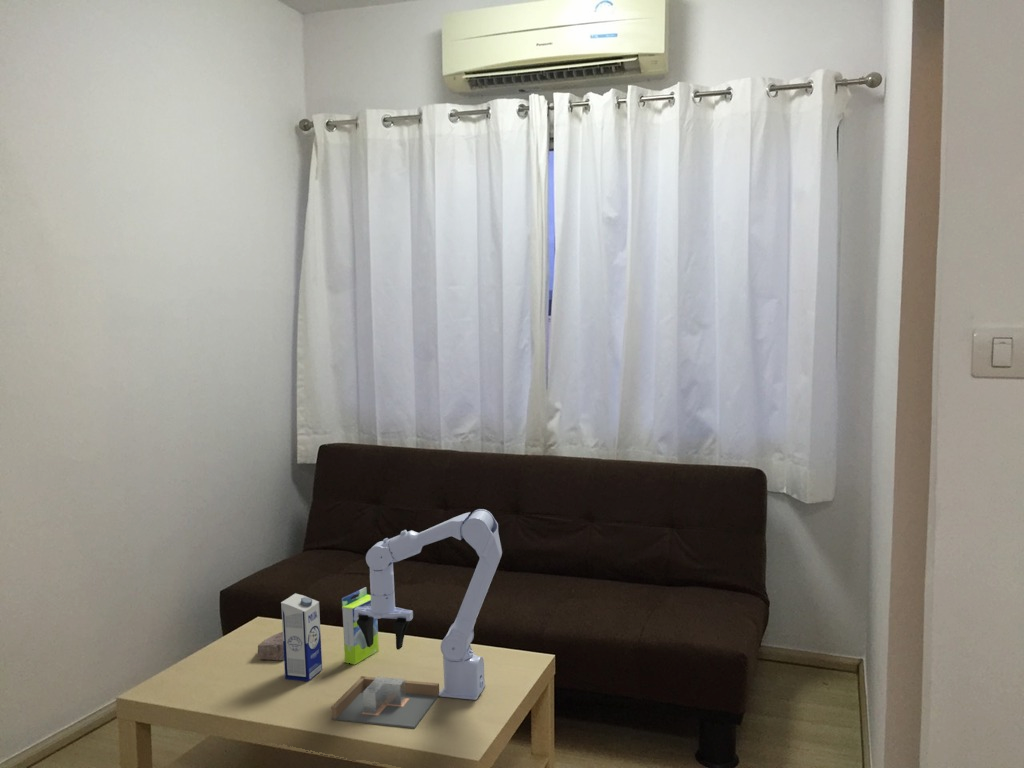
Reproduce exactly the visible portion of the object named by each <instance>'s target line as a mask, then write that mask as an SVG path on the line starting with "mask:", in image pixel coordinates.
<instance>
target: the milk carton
mask: <svg viewBox="0 0 1024 768" xmlns="http://www.w3.org/2000/svg"><path fill="white" fill-rule="evenodd" d="M280 604H281V607H280V608H281V624H282V632H283V646H284V660H283V663H284V679H286V680H294V681H303V682H310V681H312V679H313V678H314V677H316V676H317V675H318V674H319V673H320V672H322V671H323V659H322V658H323V655H322V654H323V653H322V639H321V637H322V635H321V620H320V618H321V617H320V601H318V600H316V599H313V598H311V597H308V596H306V595H303V594H299V593H296V592H295V593H294V594H292V595H290V596H289V597H288V598H286V599H284V600H282V601H281V602H280ZM321 670H322V671H321Z"/></svg>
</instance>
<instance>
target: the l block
mask: <svg viewBox="0 0 1024 768" xmlns="http://www.w3.org/2000/svg"><path fill="white" fill-rule="evenodd" d="M375 678H376V679H375V680H374V681H373V682H372V683H371V684H370V685H369V686H368V687H367V688H366V689H365V690H364V691H363V704H364V713H367V714H377V713H378V712H379V710H380V709H381V708H382V707H383V706H384V705H385V704H389V705H399V706H401V705H402V704H403V703H404V702H405V700H406V687H405V680H406V679H405V678H397V677H395V678H394V677H387V676H386V677H385V676H376V677H375Z"/></svg>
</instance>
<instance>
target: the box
mask: <svg viewBox="0 0 1024 768" xmlns="http://www.w3.org/2000/svg"><path fill="white" fill-rule="evenodd" d="M367 592H368V589H367V587H366V586H365V587H363V588H361V589H359V590H356V591H355V592H352V593H351V594H348V595H346V596H344V597H342V598H341V610H342V624H343V625H342V626H343V645H344V647H343V649H344V663H346V664H349V663H350V664H349V665H357V664H358V663H361V662H362V661H363V660H366V659H367V658H369V657H370V656H372V655H373V654H375V653H377V652H379V648H380V647H379V625H378V619H377V618H374V622H373V639H374V640H373V645H372V646H371V647H367V644H366V640H365V637H364V635H363V633H362V631H361V629H360V627H359V626H358V625H357V620H358V618H359V617H354V609H355V608H356V607H367V606H371V594H368V593H367ZM355 595H356V597H354V596H355ZM352 597H354V598H352Z"/></svg>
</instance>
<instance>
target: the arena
mask: <svg viewBox="0 0 1024 768" xmlns="http://www.w3.org/2000/svg"><path fill="white" fill-rule="evenodd" d="M376 678H377V677H376V676H375V677H374V676H373V677H372V676H364V675H362V676H360V677H359V678H358V679H357V680H356V682H354V683H353V685H351V687H350V688H348V689H347V690H346V691H345V693H344V694H342V696H340V698H338V699H337V700H336V701H335V703H334V704H332V705H331V706H330V712H331V720H335V721H340V722H341V721H342V722H343V721H344V722H352V723H361V724H371V725H379V726H389V727H396V728H397V727H398V728H407V729H413V730H414V729H416V728H417V726H418V725H419V723H420V722H421V721H422V719H423V718H424V717H425V715H426V714H427V712H428V711H429V710H430V709H431V707H432V706H433V705H434V703H435V702H436V701H437V699H439V698H438V697H440V696H439V693H440V682H439V683H438V682H428V681H418V680H417V681H415V680H408V679H407V680H406V679H405V687H406V700H405V702H404V703H403V704H402V705H401V706H399V705H389V704H385V705H384V706H383V707H382V708H381V709H380V710H379V712H378V713H377V714H367V713H364V704H363V691H364V690H365V689H366V688H367V687H368V686H369V685H370V684H371V683H372V682H373V681H374V680H375V679H376Z"/></svg>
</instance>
